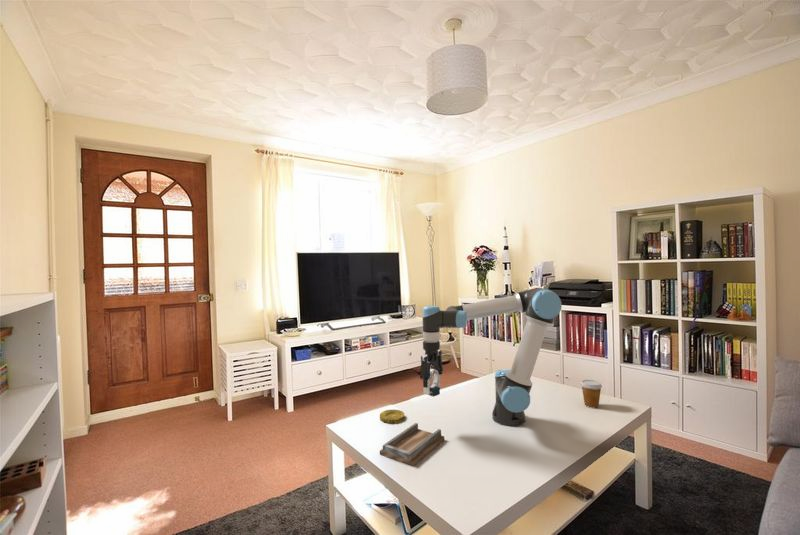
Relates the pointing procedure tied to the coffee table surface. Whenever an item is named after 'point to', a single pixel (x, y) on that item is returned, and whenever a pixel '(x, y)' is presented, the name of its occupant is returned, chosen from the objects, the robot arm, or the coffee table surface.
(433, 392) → the watch
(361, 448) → the coffee table surface
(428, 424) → the coffee table surface
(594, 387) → the disposable coffee cup
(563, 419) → the coffee table surface
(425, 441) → the wooden tray
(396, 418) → the olive yellow flat disc
